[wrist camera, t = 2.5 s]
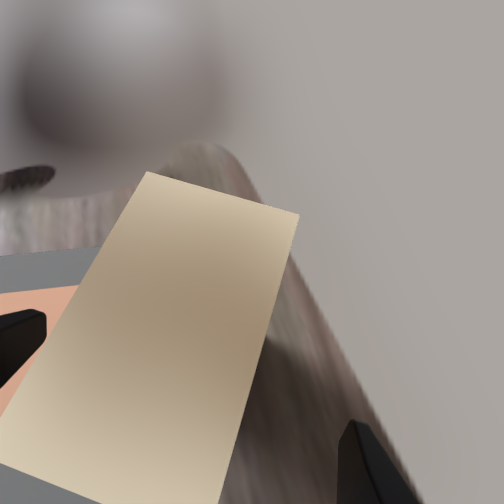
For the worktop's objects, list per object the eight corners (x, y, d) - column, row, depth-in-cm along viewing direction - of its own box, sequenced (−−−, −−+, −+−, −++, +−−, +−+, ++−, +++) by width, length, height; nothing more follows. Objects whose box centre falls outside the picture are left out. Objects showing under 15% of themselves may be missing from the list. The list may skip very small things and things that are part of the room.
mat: (140, 797, 10) (134, 823, 10) (-176, 884, 9) (-204, 917, 9) (147, 245, 19) (145, 241, 19) (-14, 262, 18) (-23, 257, 18)
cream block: (230, 423, 15) (205, 545, 4) (174, 403, 16) (-22, 453, 4) (258, 331, 17) (299, 214, 6) (207, 314, 18) (146, 171, 6)
